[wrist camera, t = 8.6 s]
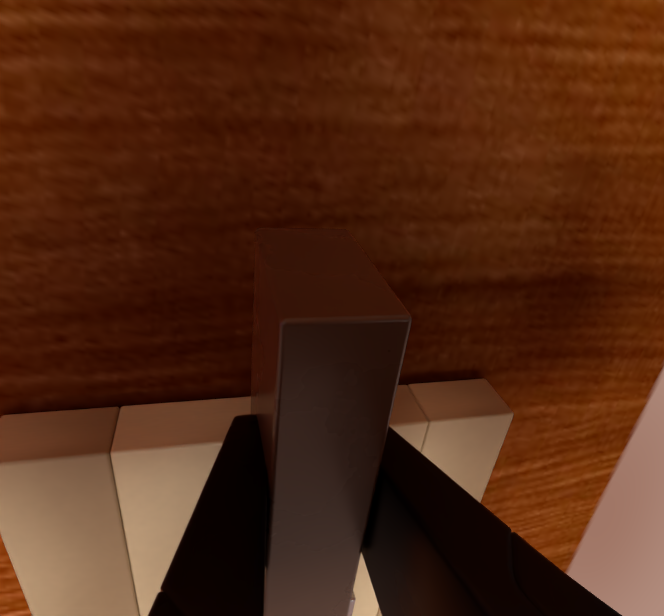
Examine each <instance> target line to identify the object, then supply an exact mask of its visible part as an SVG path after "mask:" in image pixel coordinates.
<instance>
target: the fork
mask: <svg viewBox="0 0 664 616" xmlns="http://www.w3.org/2000/svg"><path fill="white" fill-rule="evenodd" d="M411 322H412V319H411V315H410V313H409V312H408V311H407V309H406V308H405V307H404V305H403V304H402V302H401V301H400V300H399V298H398V297H397V296H396V294H395V293H394V292H393V290H392V289H391V288H390V286H389V285H388V284H387V282H386V281H385V279H384V278H383V277H382V275H381V274H380V273H379V271H378V270H377V269H376V267H375V266H374V265H373V263H372V262H371V260H370V259H369V258H368V256H367V255H366V254H365V252H364V251H363V250H362V248H361V247H360V246H359V244H358V243H357V242H356V240H355V239H354V237H353V236H352V235H351V233H350V232H349V231H348V230H346V229H310V228H257V229H256V231H255V248H254V289H253V331H252V372H251V414H256V415H257V419H258V424H259V430H260V435H261V441H262V446H263V452H264V457H265V463H266V469H267V510H266V551H265V592H264V616H352V614H353V609H354V605H355V600H356V598H355V594H354V591H353V588H354V583H355V579H356V574H357V569H358V565H359V560H360V556H361V551H362V547H363V542H364V537H365V533H366V528H367V524H368V519H369V514H370V510H371V505H372V501H373V496H374V492H375V487H376V482H377V478H378V473H379V469H380V464H381V460H382V455H383V450H384V446H385V441H386V437H387V432H388V427H389V423H390V418H391V414H392V409H393V405H394V400H395V395H396V391H397V386H398V382H399V377H400V373H401V368H402V363H403V359H404V354H405V350H406V345H407V340H408V336H409V331H410V327H411Z"/></svg>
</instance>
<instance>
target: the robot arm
mask: <svg viewBox="0 0 664 616" xmlns="http://www.w3.org/2000/svg"><path fill="white" fill-rule="evenodd" d="M266 510H267V469H266V463H265V457H264V452H263V446H262V441H261V435H260V430H259V424H258V419H257V415H256V414H248V415H237V416H235V417H234V418H233V420H232V423H231V425H230V427H229V430H228V432H227V434H226V436H225V439H224V441H223V443H222V446H221V448H220V450H219V453H218V455H217V457H216V460H215V462H214V464H213V467H212V469H211V471H210V474H209V476H208V478H207V480H206V483H205V485H204V487H203V490H202V492H201V494H200V497H199V499H198V501H197V504H196V506H195V508H194V511H193V513H192V515H191V518H190V520H189V522H188V524H187V527H186V529H185V531H184V534H183V536H182V538H181V541H180V543H179V545H178V548H177V550H176V552H175V555H174V557H173V559H172V562H171V564H170V566H169V568H168V571H167V573H166V575H165V578H164V580H163V582H162V585H161V587H160V591H161V592H159V593H158V594H157V596H156V598H155V600H154V602H153V605H152V607H151V609H150V612H149V614H148V616H264V592H265V551H266ZM361 552H362V555H363V558H364V561H365V564H366V568H367V571H368V574H369V577H370V580H371V583H372V586H373V589H374V592H375V596H376V599H377V602H378V605H379V608H380V611H381V614H382V616H622V615H620V614H619V613H618V612H616V611H615V610H613V609H612V608H611V607H609V606H608V605H607V604H605V603H604V602H603V601H601V600H600V599H599V598H597V597H596V596H595V595H593V594H592V593H591V592H589V591H588V590H587V589H585V588H584V587H583V586H581V585H580V584H579V583H577V582H576V581H575V580H573V579H572V578H571V577H569V576H568V575H567V574H565V573H564V572H563V571H562V570H560V569H559V568H558V567H557V566H555V565H554V564H553V563H552V562H550V561H549V560H548V559H547V558H546V557H544V556H543V555H542V554H541V553H539V552H538V551H537V550H536V549H534V548H533V547H532V546H531V545H530V544H529V543H527V542H526V541H525V540H524V539H523V538H521V537H520V536H519V535H518V534H517V533H515V532H512V533H511V529H510V528H509V527H508V526H507V525H506V524H505V523H503V522H502V521H501V520H500V519H499V518H498V517H496V516H495V515H494V514H493V513H492V512H490V511H489V510H488V509H487V508H486V507H484V506H483V505H482V504H481V503H480V502H479V501H477V500H476V499H475V498H474V497H473V496H471V495H470V494H469V493H468V492H467V491H466V490H464V489H463V488H462V487H461V486H460V485H458V484H457V483H456V482H455V481H454V480H453V479H451V478H450V477H449V476H448V475H447V474H445V473H444V472H443V471H442V470H441V469H440V468H438V467H437V466H436V465H435V464H434V463H432V462H431V461H430V460H429V459H428V458H427V457H425V456H424V455H423V454H422V453H421V452H419V451H418V450H417V449H416V448H415V447H413V446H412V445H411V444H410V443H409V442H408V441H406V440H405V439H404V438H403V437H402V436H400V435H399V434H398V433H397V432H396V431H395V430H393V429H392V428H391V427H390V426H389V427H388V432H387V437H386V441H385V446H384V450H383V455H382V460H381V464H380V469H379V473H378V478H377V482H376V487H375V492H374V496H373V501H372V505H371V510H370V514H369V519H368V524H367V528H366V533H365V537H364V542H363V547H362V551H361Z"/></svg>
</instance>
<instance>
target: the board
mask: <svg viewBox="0 0 664 616" xmlns="http://www.w3.org/2000/svg"><path fill="white" fill-rule="evenodd" d="M248 414H251V396H250V397H236V398H223V399H210V400H197V401H183V402H170V403H157V404H144V405H131V406H123V407H121V408H120V409H119V407H103V408H89V409H76V410H63V411H50V412H36V413H23V414H10V415H3V416H1V418H0V534H1V537H2V540H3V542H4V545H5V547H6V550H7V552H8V555H9V558H10V560H11V563H12V565H13V568H14V570H15V573H16V576H17V578H18V581H19V583H20V586H21V588H22V591H23V594H24V596H25V599H26V601H27V604H28V606H29V609H30V612H31V614H32V616H148V614H149V612H150V609H151V607H152V605H153V602H154V600H155V598H156V596H157V594H158V593H159V592H161V591H160V587H161V585H162V582H163V580H164V578H165V575H166V573H167V571H168V568H169V566H170V564H171V562H172V559H173V557H174V555H175V552H176V550H177V548H178V545H179V543H180V541H181V538H182V536H183V534H184V531H185V529H186V527H187V524H188V522H189V520H190V518H191V515H192V513H193V511H194V508H195V506H196V504H197V501H198V499H199V497H200V494H201V492H202V490H203V487H204V485H205V483H206V480H207V478H208V476H209V474H210V471H211V469H212V467H213V464H214V462H215V460H216V457H217V455H218V453H219V450H220V448H221V446H222V443H223V441H224V439H225V436H226V434H227V432H228V430H229V427H230V425H231V423H232V420H233V418H234V417H235V416H237V415H248ZM513 415H514V413H513V412H512V410H511V409H510V408H509V407H508V405H507V404H506V403H505V402H504V401H503V399H502V398H501V397H500V396H499V395H498V393H497V392H496V391H495V390H494V388H493V387H492V386H491V385H490V384H489V382H488V381H487V380H486V379H471V380H457V381H444V382H431V383H418V384H409V385H408V386H407V385H398V386H397V391H396V395H395V400H394V405H393V409H392V414H391V418H390V423H389V426H390V427H391V428H392V429H393V430H395V431H396V432H397V433H398V434H399V435H400V436H402V437H403V438H404V439H405V440H406V441H408V442H409V443H410V444H411V445H412V446H413V447H415V448H416V449H417V450H418V451H419V452H421V453H422V454H423V455H424V456H425V457H427V458H428V459H429V460H430V461H431V462H432V463H434V464H435V465H436V466H437V467H438V468H440V469H441V470H442V471H443V472H444V473H445V474H447V475H448V476H449V477H450V478H451V479H453V480H454V481H455V482H456V483H457V484H458V485H460V486H461V487H462V488H463V489H464V490H466V491H467V492H468V493H469V494H470V495H471V496H473V497H474V498H475V499H476V500H477V501H479V502H481V499H482V496H483V494H484V491H485V489H486V486H487V483H488V481H489V478H490V475H491V473H492V470H493V468H494V465H495V462H496V460H497V457H498V455H499V452H500V449H501V447H502V444H503V442H504V439H505V436H506V434H507V431H508V429H509V426H510V423H511V421H512V418H513ZM353 591H354V594H355V598H356V600H355V605H354V609H353V614H352V616H382V614H381V611H380V608H379V605H378V602H377V599H376V596H375V592H374V589H373V586H372V583H371V580H370V577H369V574H368V571H367V568H366V564H365V561H364V558H363V555H362V552H361V556H360V560H359V565H358V569H357V574H356V579H355V583H354V588H353Z"/></svg>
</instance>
